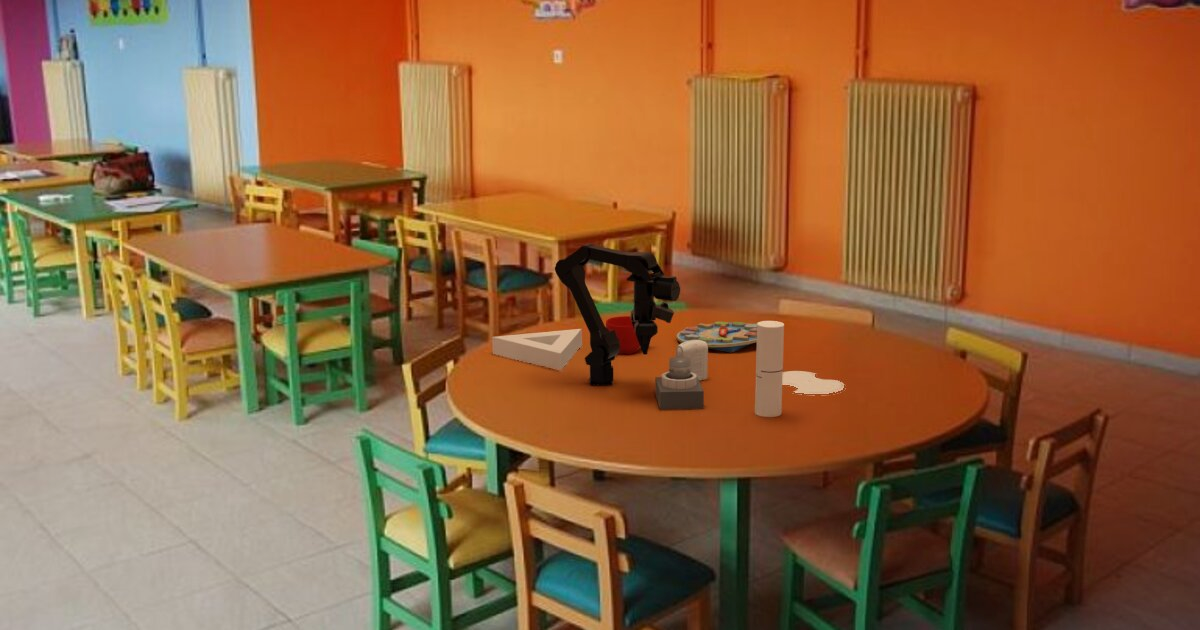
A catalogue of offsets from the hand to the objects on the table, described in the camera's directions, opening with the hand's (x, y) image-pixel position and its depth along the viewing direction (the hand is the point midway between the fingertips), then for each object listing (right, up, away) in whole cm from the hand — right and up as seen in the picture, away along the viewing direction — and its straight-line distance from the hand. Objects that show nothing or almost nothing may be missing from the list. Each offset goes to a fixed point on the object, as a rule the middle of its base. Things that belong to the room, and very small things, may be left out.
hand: (643, 350), depth 346 cm
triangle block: (-29, -5, +34) cm, 44 cm away
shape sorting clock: (+28, +1, +54) cm, 61 cm away
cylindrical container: (+33, -17, -18) cm, 41 cm away
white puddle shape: (+48, -11, +8) cm, 50 cm away
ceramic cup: (-2, -2, +44) cm, 44 cm away
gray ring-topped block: (+10, -14, -7) cm, 19 cm away
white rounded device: (+15, -10, +12) cm, 21 cm away
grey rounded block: (+10, -9, -8) cm, 16 cm away
